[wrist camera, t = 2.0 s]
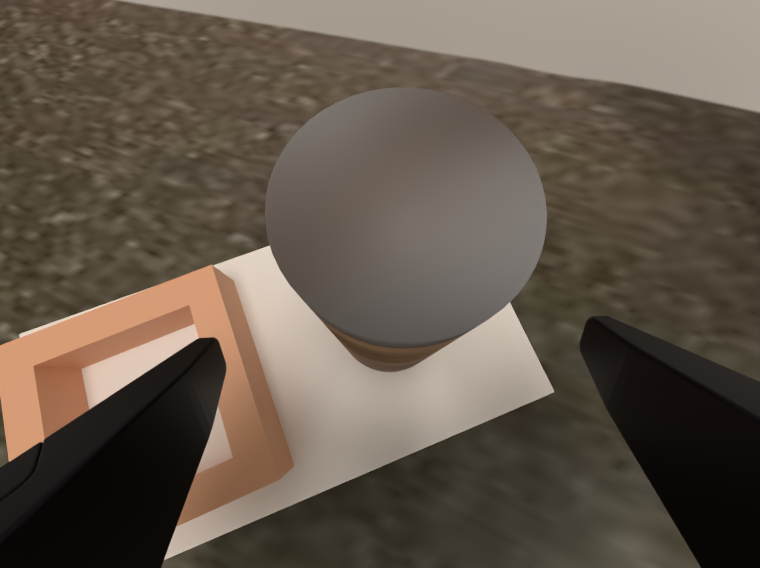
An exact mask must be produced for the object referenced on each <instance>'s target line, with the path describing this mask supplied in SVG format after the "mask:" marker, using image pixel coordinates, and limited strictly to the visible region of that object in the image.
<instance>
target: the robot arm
mask: <svg viewBox="0 0 760 568" xmlns="http://www.w3.org/2000/svg"><path fill="white" fill-rule="evenodd" d="M579 350H580V353H581V355H582V358H583V360H584V362H585V364H586V366H587V368H588V371H589V373H590V375H591V377H592V379H593V381H594V384H595V386H596V388H597V390H598V392H599V394H600V397H601V399H602V401H603V403H604V405H605V407H606V409H607V410H608V412H609V414H610V416H611V417H612V419H613V421H614V422H615V424H616V426H617V427H618V429H619V431H620V433H621V434H622V436H623V438H624V439H625V441H626V443H627V444H628V446H629V448H630V449H631V451H632V453H633V454H634V456H635V458H636V459H637V461H638V463H639V464H640V466H641V468H642V469H643V471H644V473H645V474H646V476H647V478H648V480H649V481H650V483H651V485H652V486H653V488H654V490H655V491H656V493H657V495H658V496H659V498H660V500H661V501H662V503H663V505H664V506H665V508H666V510H667V511H668V513H669V515H670V516H671V518H672V520H673V521H674V523H675V525H676V526H677V528H678V530H679V532H680V533H681V535H682V537H683V538H684V540H685V542H686V543H687V545H688V547H689V548H690V550H691V552H692V553H693V555H694V557H695V558H696V560H697V562H698V563H699V565H700V567H701V568H760V382H759V381H756V380H754V379H752V378H749V377H747V376H745V375H743V374H740V373H738V372H736V371H733V370H731V369H729V368H726V367H724V366H722V365H719V364H717V363H715V362H712V361H710V360H708V359H706V358H703V357H701V356H699V355H696V354H694V353H692V352H689V351H687V350H685V349H682V348H680V347H678V346H675V345H673V344H671V343H669V342H666V341H664V340H662V339H659V338H657V337H655V336H652V335H650V334H648V333H645V332H643V331H641V330H638V329H636V328H634V327H632V326H629V325H627V324H625V323H622V322H620V321H618V320H615V319H613V318H611V317H608V316H593V317H589V318H588V319H587V320H586V322H585V326H584V329H583V332H582V336H581V339H580V343H579ZM225 375H226V361H225V358H224V355H223V352H222V349H221V346H220V343H219V341H218V339H217V338H215V337H207V338H198V339H196V340H195V341H193V342H191V343H190V344H188V345H187V346H185V347H184V348H182V349H181V350H179V351H178V352H176V353H175V354H173V355H172V356H170V357H169V358H167V359H166V360H164V361H163V362H161V363H159V364H158V365H156V366H155V367H153V368H152V369H150V370H149V371H147V372H146V373H144V374H143V375H141V376H140V377H138V378H137V379H135V380H134V381H132V382H131V383H129V384H127V385H126V386H124V387H123V388H121V389H120V390H118V391H117V392H115V393H114V394H112V395H111V396H109V397H108V398H106V399H105V400H103V401H102V402H100V403H98V404H97V405H95V406H94V407H92V408H91V409H89V410H88V411H86V412H85V413H83V414H82V415H80V416H79V417H77V418H76V419H74V420H73V421H71V422H70V423H68V424H66V425H65V426H63V427H62V428H60V429H59V430H57V431H56V432H54V433H53V434H51V435H50V436H48V437H47V438H45V439H44V441H43V442H39V443H37V444H36V445H34V446H33V447H31V448H30V449H28V450H27V451H25V452H24V453H22V454H21V455H19V456H18V457H16V458H15V459H13V460H11V461H10V462H8V463H7V464H5V465H4V466H2V467H0V568H161V566H162V564H163V561H164V558H165V556H166V553H167V550H168V547H169V545H170V542H171V539H172V537H173V534H174V531H175V529H176V526H177V523H178V520H179V518H180V515H181V512H182V510H183V507H184V504H185V502H186V499H187V496H188V493H189V491H190V488H191V485H192V483H193V480H194V477H195V475H196V472H197V469H198V466H199V464H200V461H201V458H202V456H203V453H204V450H205V448H206V445H207V442H208V439H209V436H210V434H211V431H212V427H213V423H214V420H215V416H216V412H217V408H218V404H219V400H220V395H221V391H222V387H223V383H224V379H225Z"/></svg>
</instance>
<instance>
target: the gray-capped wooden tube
mask: <svg viewBox="0 0 760 568" xmlns="http://www.w3.org/2000/svg"><path fill="white" fill-rule="evenodd" d="M546 222H547V211H546V200H545V195H544V191H543V186H542V182H541V180H540V177H539V174H538V172H537V169H536V167H535V165H534V163H533V161H532V160H531V158H530V156H529V154H528V152H527V151H526V150H525V148H524V147H523V145H522V144H521V143H520V141H519V140H518V139H517V138H516V137H515V136H514V135H513V133H512V132H511V131H510V130H509V129H508V128H507V127H506V126H505V125H503V124H502V123H501V122H500V121H499V120H497V119H496V118H495V117H494V116H492V115H491V114H489V113H488V112H486V111H485V110H483V109H481V108H480V107H478V106H476V105H474V104H472V103H470V102H468V101H466V100H464V99H461V98H458V97H456V96H453V95H450V94H447V93H443V92H439V91H435V90H429V89H422V88H408V87H397V88H383V89H378V90H372V91H367V92H364V93H360V94H357V95H354V96H351V97H348V98H346V99H344V100H341V101H339V102H337V103H335V104H333V105H331V106H330V107H328V108H326V109H324V110H322V111H321V112H320V113H318V114H317V115H316V116H314V117H313V118H312V119H310V120H309V121H308V122H307V123H306V124H305V125H304V126H303V127H301V128H300V129H299V130H298V131H297V133H296V134H295V135H294V136H293V137H292V139H291V140H290V141H289V142H288V143H287V145H286V147H285V148H284V150H283V151H282V153H281V155H280V156H279V158H278V160H277V162H276V165H275V167H274V169H273V171H272V174H271V177H270V181H269V184H268V188H267V195H266V201H265V223H266V230H267V237H268V241H269V244H270V247H271V251H272V254H273V256H274V258H275V260H276V263H277V265H278V267H279V269H280V271H281V272H282V274H283V275H284V277H285V279H286V280H287V282H288V283H289V285H290V286H291V287H292V288H293V289H294V291H295V292H296V293H297V294H298V295H299V296H300V297H301V299H302V300H303V301H304V302H305V303H306V304H307V305H308V306H309V308H310V309H311V310H312V311H313V312H314V313H315V314H316V315H317V317H318V318H319V319H320V320H321V321H322V322H323V323H324V324H325V326H326V327H327V328H328V329H329V330H330V331H331V332H332V333H333V334H334V336H335V337H336V338H337V339H338V340H339V341H340V342H341V343H342V345H343V346H344V347H345V348H346V349H347V350H348V351H349V352H350V354H351V355H352V356H353V357H354V358H355V359H356V360H358V361H359V362H360V363H362V364H363V365H365V366H367V367H369V368H371V369H374V370H377V371H382V372H398V371H402V370H406V369H408V368H411V367H413V366H415V365H417V364H418V363H420V362H421V361H423V360H425V359H426V358H428V357H429V356H431V355H433V354H434V353H436V352H437V351H439V350H441V349H442V348H444V347H445V346H447V345H448V344H450V343H452V342H453V341H455V340H456V339H458V338H460V337H461V336H463V335H464V334H466V333H468V332H469V331H471V330H472V329H474V328H476V327H477V326H479V325H480V324H482V323H484V322H485V321H487V320H488V319H490V318H491V317H492V316H494V315H495V314H497V313H498V312H499V311H501V310H502V309H503V308H504V307H505V306H506V305H507V304H508V303H509V302H510V301H512V300H513V299H514V298H515V297H516V296H517V294H518V293H519V292H520V290H521V289H522V288H523V286H524V285H525V284H526V283H527V281H528V280H529V278H530V276H531V274H532V272H533V270H534V269H535V267H536V265H537V262H538V259H539V257H540V254H541V251H542V248H543V244H544V239H545V234H546Z"/></svg>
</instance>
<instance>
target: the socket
mask: <svg viewBox="0 0 760 568" xmlns="http://www.w3.org/2000/svg"><path fill="white" fill-rule="evenodd" d="M193 324H195V327H196V330H197V334H198V337H199V338H207V337H215V338H217V339H218V341H219V343H220V346H221V349H222V352H223V355H224V358H225V361H226V375H225V379H224V383H223V387H222V391H221V395H220V400H219V404H218V407H219V410H220V414H221V417H222V421H223V424H224V428H225V431H226V435H227V438H228V442H229V445H230V449H231V452H232V456H233V458H231V459H229V460H227V461H225V462H222V463H220V464H218V465H216V466H213V467H211V468H209V469H207V470H204V471H202V472H200V473H197V474H196V475H195V477H194V480H193V483H192V485H191V488H190V491H189V493H188V496H187V499H186V502H185V504H184V507H183V510H182V512H181V515H180V518H179V520H178V523H177V526H179V525H181V524H184V523H186V522H188V521H190V520H192V519H195V518H197V517H199V516H201V515H203V514H206V513H208V512H210V511H212V510H214V509H217V508H219V507H221V506H223V505H225V504H227V503H230V502H232V501H234V500H236V499H238V498H241V497H243V496H245V495H247V494H249V493H252V492H254V491H256V490H258V489H260V488H263V487H265V486H267V485H269V484H271V483H274V482H276V481H278V480H280V479H281V478H282V477H283V476H284V475H285V474H286V473H287V472H288V471H290V470H291V469H292V468H293V467H294V464H293V461H292V458H291V454H290V451H289V448H288V445H287V442H286V439H285V436H284V433H283V430H282V427H281V424H280V421H279V418H278V415H277V412H276V409H275V406H274V403H273V399H272V396H271V393H270V390H269V387H268V384H267V381H266V378H265V375H264V372H263V369H262V366H261V363H260V360H259V357H258V354H257V351H256V347H255V344H254V341H253V338H252V335H251V332H250V329H249V326H248V323H247V320H246V317H245V314H244V311H243V308H242V305H241V302H240V299H239V295H238V292H237V289H236V286H235V283H234V280H232V279H231V278H229V277H228V276H227V275H225V274H224V273H223V272H221V271H220V270H218V269H217V268H216V267H214V266H213V265H210V266H207V267H204V268H202V269H199V270H196V271H194V272H191V273H189V274H186V275H183V276H181V277H178V278H176V279H173V280H170V281H168V282H165V283H162V284H160V285H157V286H155V287H152V288H149V289H147V290H144V291H142V292H139V293H136V294H134V295H131V296H128V297H126V298H123V299H121V300H118V301H115V302H113V303H110V304H107V305H105V306H102V307H100V308H97V309H94V310H92V311H89V312H87V313H84V314H81V315H79V316H76V317H73V318H71V319H68V320H66V321H63V322H60V323H58V324H55V325H52V326H50V327H47V328H45V329H42V330H39V331H37V332H34V333H32V334H29V335H26V336H24V337H21V338H18V339H16V340H13V341H11V342H8V343H5V344H3V345H0V397H1V404H2V412H3V420H4V427H5V435H6V443H7V450H8V458H9V462H10V461H11V460H13V459H15V458H16V457H18V456H19V455H21V454H22V453H24V452H25V451H27V450H28V449H30V448H31V447H33V446H34V445H36V444H37V443H39V442H43V441H44V439H45V438H47V437H48V436H50V435H51V434H53V433H54V432H56V431H57V430H59V429H60V428H62V427H63V426H65V425H66V424H68V423H70V422H71V421H73V420H74V419H76V418H77V417H79V416H80V415H82V414H83V413H85V412H86V411H88V410H89V406H88V401H87V396H86V391H85V386H84V380H83V375H82V370H81V369H82V368H85V367H87V366H90V365H92V364H95V363H97V362H100V361H102V360H105V359H107V358H110V357H112V356H115V355H117V354H120V353H122V352H125V351H127V350H130V349H133V348H135V347H138V346H140V345H143V344H145V343H148V342H150V341H153V340H155V339H158V338H160V337H163V336H165V335H168V334H170V333H173V332H175V331H178V330H180V329H183V328H185V327H188V326H190V325H193ZM177 526H176V527H177Z"/></svg>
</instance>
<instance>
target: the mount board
mask: <svg viewBox="0 0 760 568" xmlns="http://www.w3.org/2000/svg"><path fill="white" fill-rule="evenodd" d="M214 267H216V268H217V269H218V270H220V271H221V272H223V273H224V274H225V275H227V276H228V277H229V278H231V279H232V280H234V283H235V286H236V289H237V292H238V295H239V299H240V302H241V305H242V308H243V311H244V314H245V317H246V320H247V323H248V326H249V329H250V332H251V335H252V338H253V341H254V344H255V347H256V351H257V354H258V357H259V360H260V363H261V366H262V369H263V372H264V375H265V378H266V381H267V384H268V387H269V390H270V393H271V396H272V399H273V403H274V406H275V409H276V412H277V415H278V418H279V421H280V424H281V427H282V430H283V433H284V436H285V439H286V442H287V445H288V448H289V451H290V454H291V458H292V461H293V464H294V467H293V468H292V469H291V470H290V471H288V472H287V473H286V474H285V475H284V476H283V477H282V478H281V479H280V480H278V481H276V482H274V483H271V484H269V485H267V486H265V487H263V488H260V489H258V490H256V491H254V492H252V493H249V494H247V495H245V496H243V497H241V498H238V499H236V500H234V501H232V502H230V503H227V504H225V505H223V506H221V507H219V508H217V509H214V510H212V511H210V512H208V513H206V514H203V515H201V516H199V517H197V518H195V519H192V520H190V521H188V522H186V523H184V524H181V525H179V526H177V527H176V529H175V531H174V534H173V537H172V539H171V542H170V545H169V547H168V550H167V553H166V556H165V558H164V560H165V559H168V558H170V557H172V556H175V555H177V554H179V553H182V552H184V551H186V550H189V549H191V548H193V547H195V546H198V545H200V544H202V543H205V542H207V541H209V540H212V539H214V538H216V537H219V536H221V535H223V534H226V533H228V532H230V531H233V530H235V529H237V528H240V527H242V526H244V525H247V524H249V523H251V522H254V521H256V520H258V519H261V518H263V517H265V516H268V515H270V514H272V513H275V512H277V511H279V510H282V509H284V508H286V507H289V506H291V505H293V504H296V503H298V502H300V501H302V500H305V499H307V498H309V497H312V496H314V495H316V494H319V493H321V492H323V491H326V490H328V489H330V488H333V487H335V486H337V485H340V484H342V483H344V482H347V481H349V480H351V479H354V478H356V477H358V476H361V475H363V474H365V473H368V472H370V471H372V470H375V469H377V468H379V467H382V466H384V465H386V464H389V463H391V462H393V461H396V460H398V459H400V458H403V457H405V456H407V455H410V454H412V453H414V452H416V451H419V450H421V449H423V448H426V447H428V446H430V445H433V444H435V443H437V442H440V441H442V440H444V439H447V438H449V437H451V436H454V435H456V434H458V433H461V432H463V431H465V430H468V429H470V428H472V427H475V426H477V425H479V424H482V423H484V422H486V421H489V420H491V419H493V418H496V417H498V416H500V415H503V414H505V413H507V412H510V411H512V410H514V409H517V408H519V407H521V406H523V405H526V404H528V403H530V402H533V401H535V400H537V399H540V398H542V397H544V396H547V395H549V394H551V393H554V390H553V388H552V386H551V384H550V382H549V380H548V378H547V376H546V374H545V372H544V370H543V368H542V366H541V364H540V362H539V360H538V358H537V356H536V354H535V352H534V350H533V348H532V346H531V344H530V342H529V340H528V338H527V336H526V334H525V332H524V330H523V328H522V326H521V324H520V322H519V320H518V318H517V316H516V314H515V312H514V310H513V308H512V306H511V304H510V302H509V303H508V304H507V305H506V306H505V307H504V308H503V309H502V310H501V311H499V312H498V313H497V314H495V315H494V316H492V317H491V318H490V319H488V320H487V321H485V322H484V323H482V324H480V325H479V326H477V327H476V328H474V329H472V330H471V331H469V332H468V333H466V334H464V335H463V336H461V337H460V338H458V339H456V340H455V341H453V342H452V343H450V344H448V345H447V346H445V347H444V348H442V349H441V350H439V351H437V352H436V353H434V354H433V355H431V356H429V357H428V358H426V359H425V360H423V361H421V362H420V363H418V364H417V365H415V366H413V367H411V368H408V369H406V370H402V371H398V372H382V371H377V370H374V369H371V368H369V367H367V366H365V365H363V364H362V363H360V362H359V361H358V360H356V359H355V358H354V357H353V356H352V355H351V354H350V352H349V351H348V350H347V349H346V348H345V347H344V346H343V345H342V343H341V342H340V341H339V340H338V339H337V338H336V337H335V336H334V334H333V333H332V332H331V331H330V330H329V329H328V328H327V327H326V326H325V324H324V323H323V322H322V321H321V320H320V319H319V318H318V317H317V315H316V314H315V313H314V312H313V311H312V310H311V309H310V308H309V306H308V305H307V304H306V303H305V302H304V301H303V300H302V299H301V297H300V296H299V295H298V294H297V293H296V292H295V291H294V289H293V288H292V287H291V286H290V285H289V283H288V282H287V280H286V279H285V277H284V275H283V274H282V272H281V271H280V269H279V267H278V265H277V263H276V260H275V258H274V256H273V254H272V251H271V247H270V246H267V247H264V248H262V249H259V250H256V251H253V252H250V253H247V254H245V255H242V256H239V257H236V258H233V259H231V260H228V261H225V262H222V263H219V264H216V265H214ZM154 287H155V286H154ZM151 288H152V287H151ZM148 289H149V288H148ZM146 290H147V289H146ZM143 291H144V290H143ZM140 292H142V291H140ZM137 293H139V292H137ZM134 294H136V293H134ZM134 294H132V295H134ZM129 296H131V295H129ZM126 297H128V296H126ZM126 297H123V298H126ZM123 298H120V299H117V300H115V301H118V300H121V299H123ZM115 301H112V302H109V303H106V304H103V305H100V306H98V307H95V308H92V309H89V310H86V311H83V312H81V313H78V314H75V315H72V316H69V317H66V318H64V319H61V320H58V321H55V322H52V323H49V324H47V325H44V326H41V327H38V328H35V329H33V330H30V331H27V332H24V333H21V334H19V336H20V338H21V337H24V336H26V335H29V334H32V333H34V332H37V331H39V330H42V329H45V328H47V327H50V326H52V325H55V324H58V323H60V322H63V321H66V320H68V319H71V318H73V317H76V316H79V315H81V314H84V313H87V312H89V311H92V310H94V309H97V308H100V307H102V306H105V305H107V304H110V303H113V302H115ZM198 338H199V337H198V334H197V330H196V327H195V324H193V325H190V326H188V327H185V328H183V329H180V330H178V331H175V332H173V333H170V334H168V335H165V336H163V337H160V338H158V339H155V340H153V341H150V342H148V343H145V344H143V345H140V346H138V347H135V348H133V349H130V350H127V351H125V352H122V353H120V354H117V355H115V356H112V357H110V358H107V359H105V360H102V361H100V362H97V363H95V364H92V365H90V366H87V367H85V368H82V369H81V370H82V375H83V380H84V386H85V391H86V396H87V401H88V406H89V409H91V408H92V407H94V406H95V405H97V404H98V403H100V402H102V401H103V400H105V399H106V398H108V397H109V396H111V395H112V394H114V393H115V392H117V391H118V390H120V389H121V388H123V387H124V386H126V385H127V384H129V383H131V382H132V381H134V380H135V379H137V378H138V377H140V376H141V375H143V374H144V373H146V372H147V371H149V370H150V369H152V368H153V367H155V366H156V365H158V364H159V363H161V362H163V361H164V360H166V359H167V358H169V357H170V356H172V355H173V354H175V353H176V352H178V351H179V350H181V349H182V348H184V347H185V346H187V345H188V344H190V343H191V342H193V341H195V340H196V339H198ZM231 458H233V456H232V452H231V449H230V445H229V442H228V438H227V435H226V431H225V428H224V424H223V421H222V417H221V414H220V410H219V407H218V408H217V412H216V416H215V420H214V423H213V427H212V431H211V434H210V436H209V439H208V442H207V445H206V448H205V450H204V453H203V456H202V458H201V461H200V464H199V466H198V469H197V472H196V474H197V473H200V472H202V471H204V470H207V469H209V468H211V467H213V466H216V465H218V464H220V463H222V462H225V461H227V460H229V459H231Z"/></svg>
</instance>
